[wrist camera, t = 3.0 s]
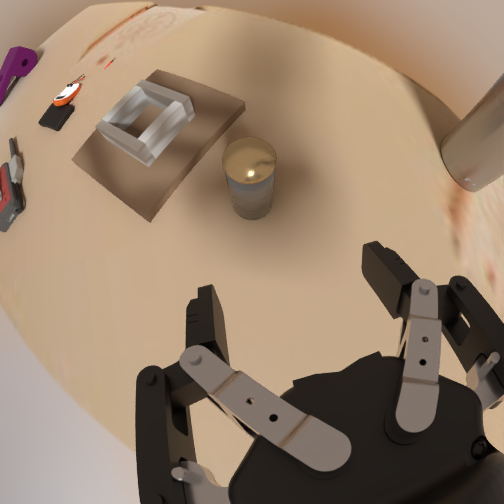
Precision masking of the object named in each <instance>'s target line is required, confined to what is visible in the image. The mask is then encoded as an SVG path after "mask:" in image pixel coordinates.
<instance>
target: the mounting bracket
mask: <svg viewBox="0 0 504 504" xmlns="http://www.w3.org/2000/svg"><path fill="white" fill-rule="evenodd" d="M36 62H37V55H36V53H35V51H33V50H31V49H28V48H24V47H20V46H19V47H14V48H11V49H10V50H9V52H8V54H7V56H6V58H5V61H4V63H3V65H2V68H1V70H0V105H1V103H2V101H3V98H4V96H5V93H6V90H7V87H8V85H9V82H10V80H11V77H12V76H19V77H23V76H26V75H28V74H29V73H30V71H31V70H32V69H33V68H34V67H35V65H36Z"/></svg>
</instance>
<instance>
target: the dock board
mask: <svg viewBox="0 0 504 504" xmlns="http://www.w3.org/2000/svg"><path fill="white" fill-rule="evenodd" d="M244 111H245V102H243V101H241V100H239V99H236V98H234V97H232V96H229V95H227V94H225V93H222V92H220V91H217V90H215V89H212V88H210V87H207V86H204V85H202V84H199V83H196V82H194V81H191V80H188V79H185V78H182V77H179V76H176V75H173V74H170V73H167V72H164V71H161V70H156V71H155V72H153V73H152V74H151V75H150V76H149V77H148V78H147V79H145V80H143V79H142V80H141V81H140V82H139V83H138V84H137V85H136V86H135V87H134V88H133V89H131V90H130V91H129V92H128V93H127V94H126V95H125V96H124V97H123V98H122V99H121V100H120V101H119V102H118V103H117V104H116V105H115V106H114V107H113V108H112V109H111V110H110V111H109V112H108V113H107V115H106V116H105V117H104V118H103V119H102V120H101V121H100V122H99V123H98V124H97V126H96V128H97V129H96V130H95V131H94V132H93V133H92V135H91V136H90V137H89V138H88V139H87V141H86V142H85V143H84V144H83V146H82V147H81V148H80V149H79V151H78V152H77V153H76V154H75V156H74V157H73V158H72V161H73V162H74V163H75V164H77V165H78V166H79V167H80V168H81V169H83V170H84V171H85V172H86V173H88V174H89V175H90V176H91V177H92V178H94V179H95V180H96V181H97V182H99V183H100V184H101V185H102V186H104V187H105V188H106V189H107V190H109V191H110V192H111V193H112V194H114V195H115V196H116V197H118V198H119V199H120V200H121V201H123V202H124V203H125V204H126V205H128V206H129V207H130V208H132V209H133V210H134V211H135V212H137V213H138V214H139V215H141V216H142V217H143V218H145V219H146V220H147V221H148V222H151V221H152V219H153V218H154V217H155V215H156V214H157V213H158V211H159V210H160V209H161V207H162V206H163V205H164V203H165V202H166V201H167V199H168V198H169V197H170V195H171V194H172V193H173V192H174V190H175V189H176V188H177V187H178V185H179V184H180V183H181V182H182V180H183V179H184V178H185V177H186V175H187V174H188V173H189V172H190V171H191V169H192V168H193V167H194V166H195V165H196V164H197V162H198V161H199V160H200V159H201V158H202V156H203V155H204V154H205V153H206V152H207V151H208V150H209V148H210V147H211V146H212V145H213V144H214V143H215V142H216V141H217V139H218V138H219V137H220V136H221V135H222V134H223V133H224V132H225V131H226V130H227V129H228V127H229V126H230V125H231V124H232V123H233V122H234V121H235V120H236V119H237V118H238V117H239V116H240V115H241V114H242V113H243V112H244Z"/></svg>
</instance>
